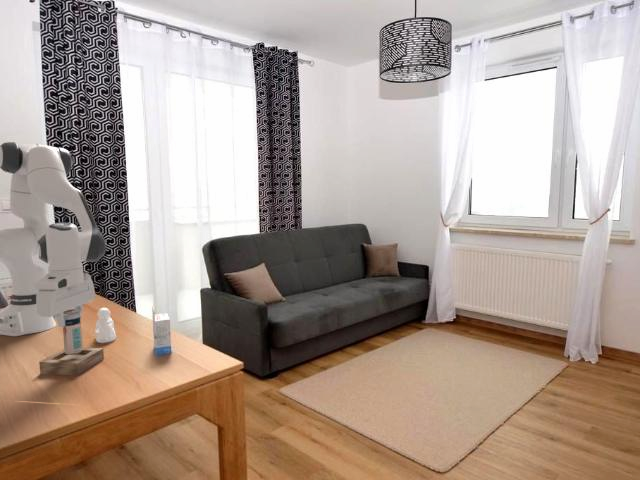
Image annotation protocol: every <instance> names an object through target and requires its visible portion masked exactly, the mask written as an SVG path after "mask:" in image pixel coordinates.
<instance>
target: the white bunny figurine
mask: <svg viewBox="0 0 640 480" xmlns="http://www.w3.org/2000/svg"><path fill="white" fill-rule="evenodd" d="M111 313H112V312H111V311H110V310H109V308H107V307H101V308H100V309H99V310H98V312H97V313H96V314H95V315H96V316H98V318H97V321H96V323H95V329H94V332H95V333H96V334H97V336H96V339H95V340H96V342H97V343H100V344H107V343H111V342H113V341H114V342H115V339H117V333H116V331H115V326H114V325H115V323H114V320H113V319H112V317H110V315H111Z"/></svg>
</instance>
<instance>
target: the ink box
mask: <svg viewBox="0 0 640 480" xmlns="http://www.w3.org/2000/svg"><path fill="white" fill-rule="evenodd" d="M151 309H152V310H151V311H152V332H153V348H154V349H153V350H154V352H155V356H160V355H167V354H168V355H169V354H172V339H171V337H172V336H171V319H170V316H169V314H168V313H167V312H166V313H160V314H159V313H158V314H155V313H156V312H155V309H154V306H152V308H151Z"/></svg>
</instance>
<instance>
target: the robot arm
mask: <svg viewBox="0 0 640 480" xmlns="http://www.w3.org/2000/svg"><path fill="white" fill-rule="evenodd" d="M72 158H73V157H72V155H71V153H70V151H68V149H66V148H63V147H61V146H60V147H59V146H57V147H56V146H53V145H52V146H51V145H46V144H40V143H36V144H35V143H23V142H21V143H19V142H18V143H17V142H15V141H13V142H11V141H9V142H3V143H1V144H0V169H1V170H2V171H3V172H5V173H9V174H11V179H10V180H11V181H10V190H9V191H10V192H9V197H10V198H9V210H10V211H11V213H12V214H13V215H14V216H15V217H18V218H20V219H22V221H23V227H16V228H5V229H2V230H0V262H1V263H2V264H3V265H4V266H5V267H6V268H7V270H8V272H9V273H10V278H11V282H12V284H11V285H12V292H13V293H12V294H11V295H9V296H7V299H6V300H10V301H9V304H8V305H7V306H6V307H4V308H3V309H2V310H1V311H0V335H2V336H8V337H18V336H23V335H29V334H30V335H31V334H36V333H40V332H44V331H48V330H50V329H53V328H54V327H56V326H58V327H59V328H63V327H64V326H66V325H67V320H65V319H64V318H63V315H64V314H65V312H67V311H71V310H70V309H72V308H76V309H74V312H78V314H79V315H80V320H81V319H82V313H83V310H84V304H87V303H89V302H93V301H94V300H95V297H96V291H95V285H94V282H93V280H92V276H91V274H89V273H88V272H84V266H83V263H82V262H91V263H92V262H98V261H99V260H100V259H102V258H103V256H105V254H106V252H107V244H106V240H105V237H104V236H103V234H102V232H101V229H99V227H98V225H97V222H96V221H95V218H94V215H93V214H92V211H91V209H90V207H89V205H88V202H87V200H86V197H85V196H84V194H83V193H82V191H81V190H80V189H78V188H76V187H74V186H73V185H72V184H71V182H70V180H68V177H67V175H69V174H70V173H71V170H72V166H73V160H72ZM47 205H51V206H55V207H59V208H63V209H67V210H68V211H71V212H72V213H73V214H74V215H75V216H76V219H77V221H78V224H79V225H80V229H81V231H79V228H78V226H77V225H76V224H74V223H71V222H55V223H51V221H50V218H49V216H48V212H47ZM34 256H38V259H39V260H40V261H42V262H44V263H46V264H48V268H47V269H48V271H47V270H46V269H44V267H42V266H40V265H36V264H35V263H34V261H33V258H32V257H34ZM55 320H56V321H57V322H56V321H55Z"/></svg>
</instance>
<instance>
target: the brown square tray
mask: <svg viewBox="0 0 640 480" xmlns="http://www.w3.org/2000/svg"><path fill="white" fill-rule="evenodd" d="M104 353H105V351H104V347H83V350H82V351H81V352H80V353H78V354H74V355H68V354H65V348H63V349H62V350H60V351H58V352H56V353H54V354H52V355H50V356H48V357H46V358H44V359H42V360H40V361H39V363H38V364H39V372H40V373H39V375H57V376H58V375H60V376H61V375H62V376H77V377H78V376H80V375H81V374H83V373H85V372H87V370H89V369H91V368H92V367H94V366H95V365H96V364H98V363H100V362H101V361H103V360H104V358H105V357H104V356H105V355H104Z"/></svg>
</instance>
